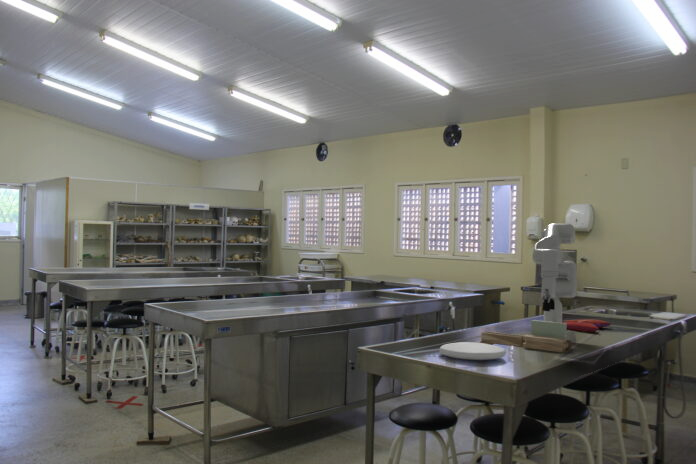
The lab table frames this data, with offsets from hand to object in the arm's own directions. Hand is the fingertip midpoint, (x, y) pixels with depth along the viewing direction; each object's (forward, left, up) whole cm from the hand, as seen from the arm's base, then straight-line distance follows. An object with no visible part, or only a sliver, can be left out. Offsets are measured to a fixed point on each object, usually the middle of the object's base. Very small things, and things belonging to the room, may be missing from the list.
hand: (548, 310), depth 256 cm
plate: (+42, -23, -19) cm, 51 cm away
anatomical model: (-83, 0, -19) cm, 86 cm away
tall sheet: (-1, 0, -18) cm, 18 cm away
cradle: (+3, -21, -19) cm, 28 cm away
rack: (+3, 0, -19) cm, 19 cm away
